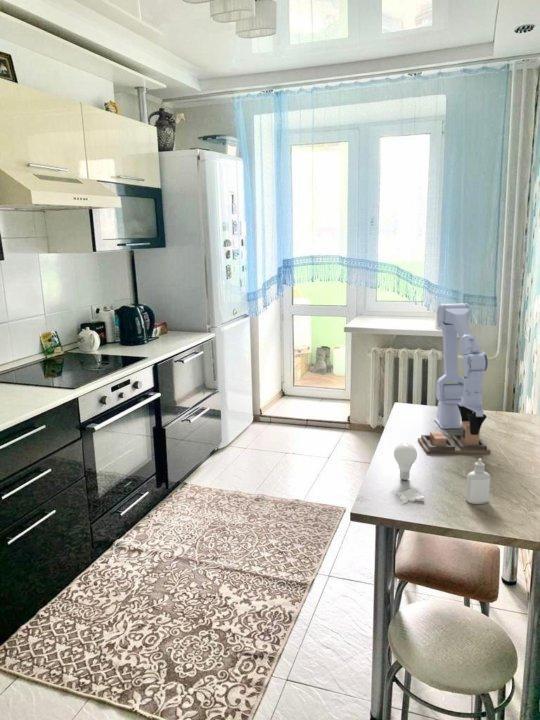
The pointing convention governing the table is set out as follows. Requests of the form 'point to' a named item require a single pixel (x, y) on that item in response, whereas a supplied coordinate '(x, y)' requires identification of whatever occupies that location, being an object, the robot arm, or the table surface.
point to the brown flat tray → (449, 444)
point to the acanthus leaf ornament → (410, 495)
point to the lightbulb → (405, 458)
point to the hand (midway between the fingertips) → (470, 430)
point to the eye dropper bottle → (478, 484)
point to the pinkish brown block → (468, 435)
